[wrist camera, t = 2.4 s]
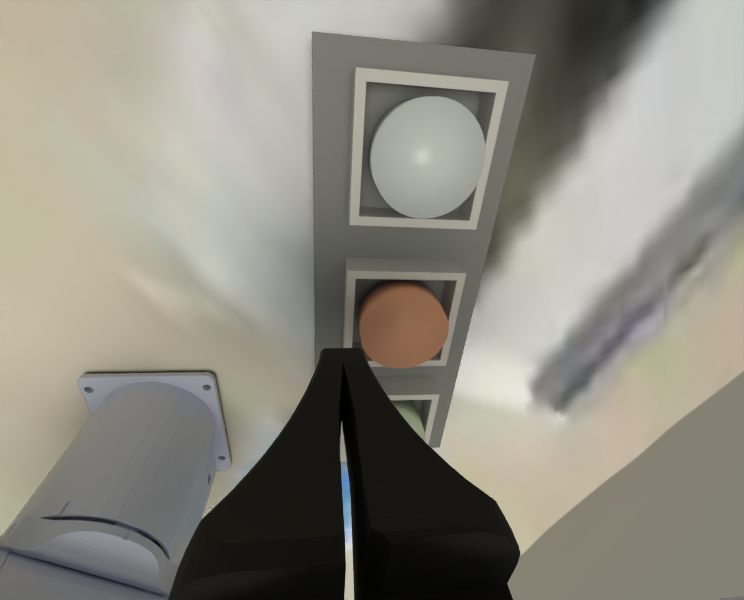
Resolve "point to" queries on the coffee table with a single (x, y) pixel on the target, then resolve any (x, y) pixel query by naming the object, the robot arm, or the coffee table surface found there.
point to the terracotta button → (402, 324)
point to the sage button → (410, 415)
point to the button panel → (383, 223)
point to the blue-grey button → (426, 156)
